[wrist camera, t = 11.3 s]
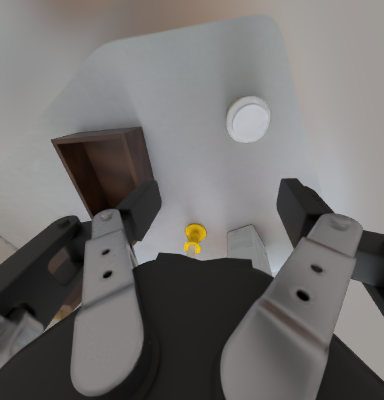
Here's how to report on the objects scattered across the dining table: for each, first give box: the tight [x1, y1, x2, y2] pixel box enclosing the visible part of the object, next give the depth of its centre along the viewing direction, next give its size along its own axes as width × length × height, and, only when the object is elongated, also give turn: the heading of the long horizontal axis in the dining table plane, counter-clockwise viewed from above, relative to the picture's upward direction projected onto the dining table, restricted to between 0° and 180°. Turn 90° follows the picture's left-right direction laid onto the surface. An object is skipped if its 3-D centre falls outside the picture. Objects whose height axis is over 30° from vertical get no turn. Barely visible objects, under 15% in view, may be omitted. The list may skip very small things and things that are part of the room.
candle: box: [184, 224, 206, 258], centre depth 35 cm, size 5×5×16 cm
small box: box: [227, 225, 272, 276], centre depth 35 cm, size 8×6×13 cm
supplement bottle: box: [226, 96, 271, 143], centre depth 23 cm, size 5×5×10 cm
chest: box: [51, 127, 154, 219], centre depth 34 cm, size 18×14×6 cm
